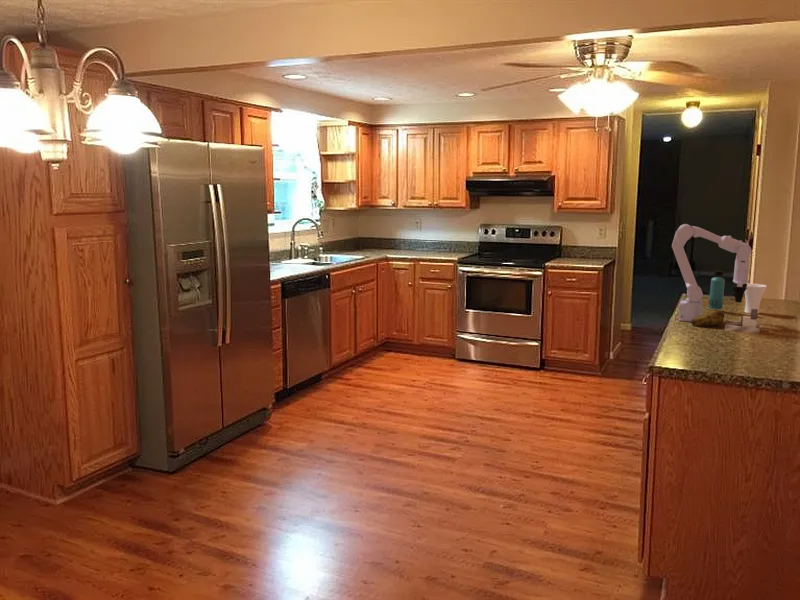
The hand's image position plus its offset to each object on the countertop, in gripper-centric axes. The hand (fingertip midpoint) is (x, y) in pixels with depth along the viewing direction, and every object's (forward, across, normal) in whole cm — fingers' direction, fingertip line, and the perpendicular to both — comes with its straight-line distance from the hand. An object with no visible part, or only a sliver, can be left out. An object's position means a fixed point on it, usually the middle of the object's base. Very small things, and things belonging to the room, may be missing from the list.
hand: (738, 300), depth 298 cm
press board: (+10, -16, -2) cm, 19 cm away
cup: (+11, +33, -6) cm, 35 cm away
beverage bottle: (+11, +28, +10) cm, 32 cm away
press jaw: (+9, -16, -4) cm, 19 cm away
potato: (+11, -16, +11) cm, 22 cm away
